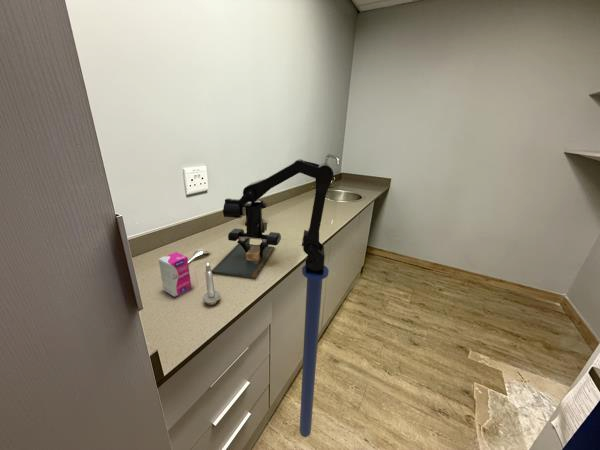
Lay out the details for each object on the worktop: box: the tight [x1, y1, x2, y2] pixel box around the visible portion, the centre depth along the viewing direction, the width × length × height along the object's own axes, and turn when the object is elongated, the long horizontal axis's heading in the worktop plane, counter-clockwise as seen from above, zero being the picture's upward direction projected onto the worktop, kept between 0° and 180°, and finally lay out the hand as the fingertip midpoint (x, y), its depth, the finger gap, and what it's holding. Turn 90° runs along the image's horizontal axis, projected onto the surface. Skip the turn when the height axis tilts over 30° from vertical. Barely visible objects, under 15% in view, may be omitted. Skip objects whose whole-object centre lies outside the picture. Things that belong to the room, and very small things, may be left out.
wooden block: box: [246, 246, 264, 264], centre depth 92 cm, size 4×7×4 cm, turn 169°
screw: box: [201, 262, 221, 306], centre depth 68 cm, size 13×5×5 cm
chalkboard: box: [211, 243, 275, 280], centre depth 94 cm, size 16×24×1 cm, turn 170°
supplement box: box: [158, 251, 192, 299], centre depth 73 cm, size 6×6×12 cm
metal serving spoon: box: [188, 248, 210, 264], centre depth 89 cm, size 20×4×5 cm
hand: (255, 257), depth 92 cm, fingers closed on wooden block, 4 cm apart
